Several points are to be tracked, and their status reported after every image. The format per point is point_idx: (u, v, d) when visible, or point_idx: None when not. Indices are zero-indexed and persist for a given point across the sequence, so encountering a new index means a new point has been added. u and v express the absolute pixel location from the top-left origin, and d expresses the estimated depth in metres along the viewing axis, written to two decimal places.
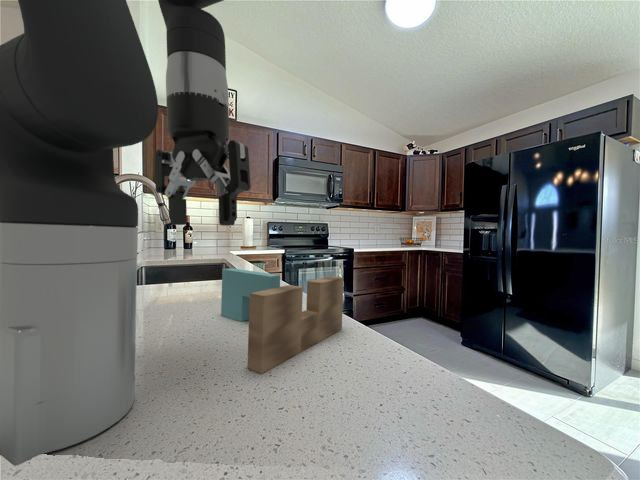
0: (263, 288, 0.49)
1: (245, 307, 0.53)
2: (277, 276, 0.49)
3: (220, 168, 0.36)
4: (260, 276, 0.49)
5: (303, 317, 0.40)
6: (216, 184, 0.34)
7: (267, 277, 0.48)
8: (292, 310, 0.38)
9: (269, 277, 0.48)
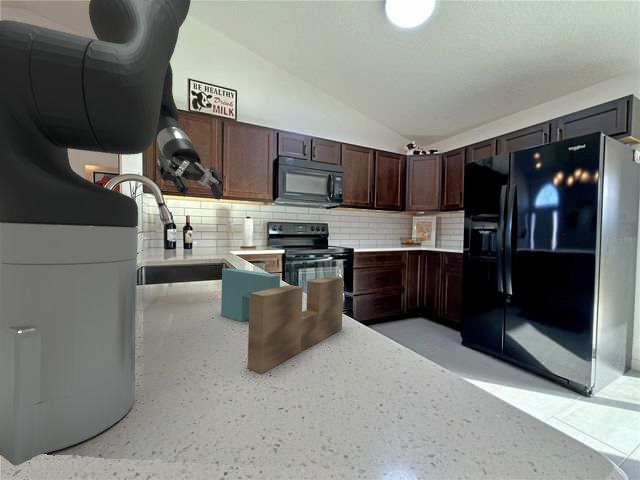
0: (263, 288, 0.49)
1: (245, 307, 0.53)
2: (277, 276, 0.49)
3: None
4: (260, 276, 0.49)
5: (303, 317, 0.40)
6: (211, 178, 0.66)
7: (267, 277, 0.48)
8: (292, 310, 0.38)
9: (269, 277, 0.48)
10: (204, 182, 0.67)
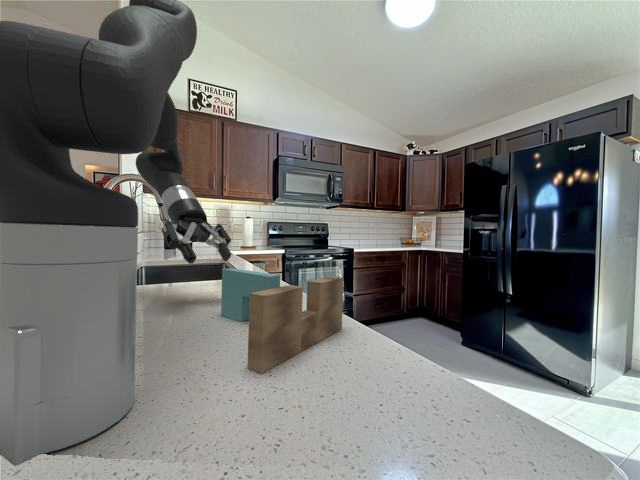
0: (263, 288, 0.49)
1: (245, 307, 0.53)
2: (277, 276, 0.49)
3: None
4: (260, 276, 0.49)
5: (303, 317, 0.40)
6: (218, 239, 0.64)
7: (267, 277, 0.48)
8: (292, 310, 0.38)
9: (269, 277, 0.48)
10: (212, 243, 0.64)
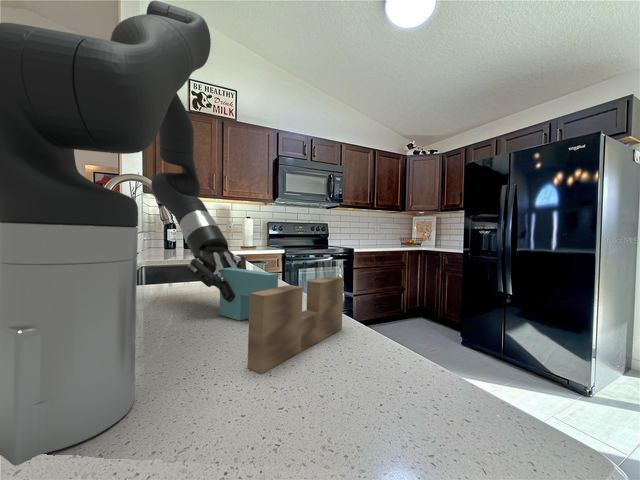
0: (261, 287, 0.49)
1: (243, 306, 0.53)
2: (275, 275, 0.50)
3: None
4: (258, 275, 0.49)
5: (303, 317, 0.40)
6: None
7: (265, 276, 0.48)
8: (292, 310, 0.38)
9: (267, 276, 0.48)
10: None
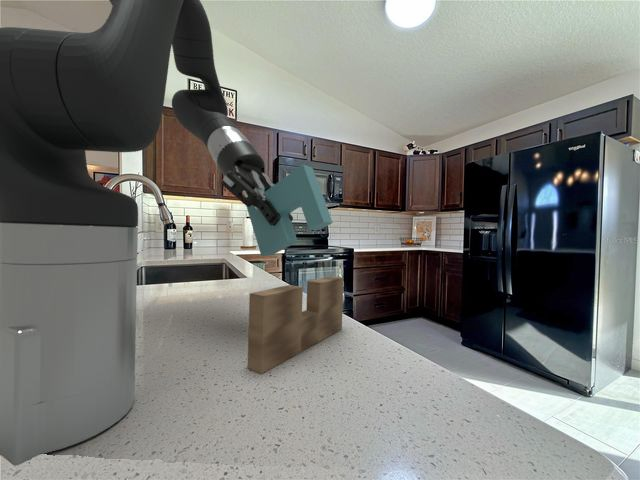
0: (299, 183, 0.41)
1: (286, 226, 0.43)
2: (310, 167, 0.42)
3: None
4: (291, 174, 0.42)
5: (303, 317, 0.40)
6: None
7: (299, 168, 0.41)
8: (292, 310, 0.38)
9: (301, 166, 0.41)
10: None
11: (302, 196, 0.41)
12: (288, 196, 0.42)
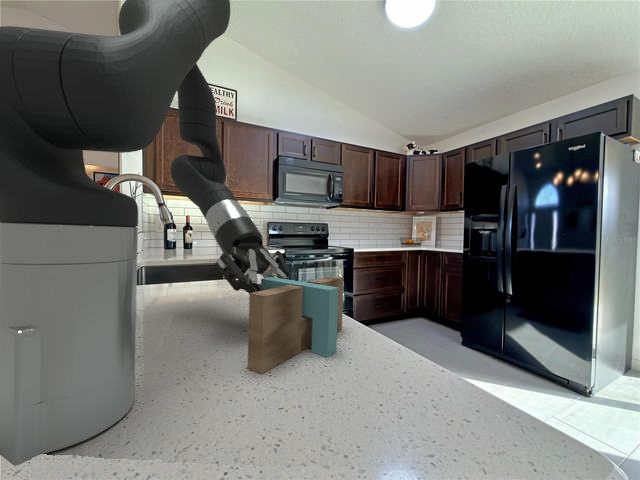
0: (319, 304, 0.39)
1: None
2: (335, 289, 0.39)
3: None
4: (314, 289, 0.39)
5: (303, 317, 0.40)
6: (277, 271, 0.49)
7: (325, 290, 0.38)
8: (292, 310, 0.38)
9: (327, 291, 0.38)
10: (268, 275, 0.49)
11: (317, 318, 0.39)
12: (304, 306, 0.40)
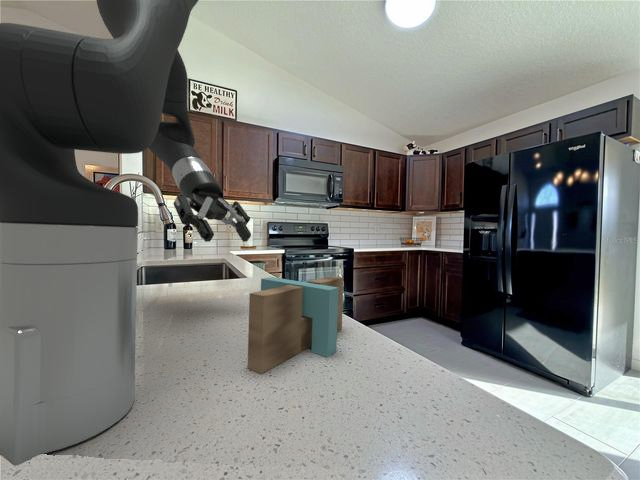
0: (319, 304, 0.39)
1: None
2: (335, 289, 0.39)
3: None
4: (314, 289, 0.39)
5: (303, 317, 0.40)
6: (236, 216, 0.56)
7: (325, 290, 0.38)
8: (292, 310, 0.38)
9: (327, 291, 0.38)
10: (229, 221, 0.57)
11: (317, 318, 0.39)
12: (304, 306, 0.40)
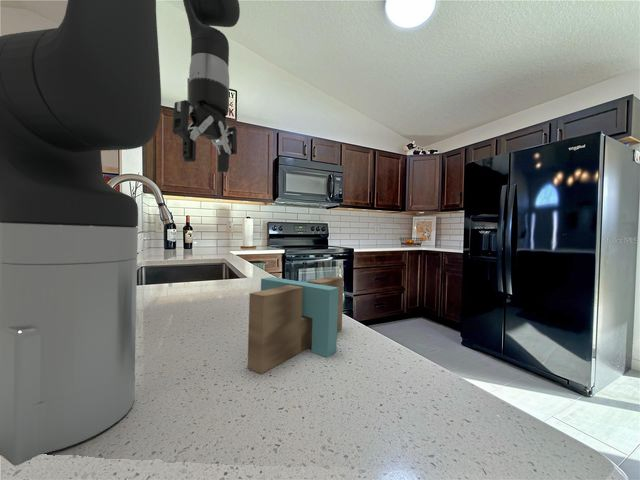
0: (319, 304, 0.39)
1: None
2: (335, 289, 0.39)
3: None
4: (314, 289, 0.39)
5: (303, 317, 0.40)
6: (225, 146, 0.58)
7: (325, 290, 0.38)
8: (292, 310, 0.38)
9: (327, 291, 0.38)
10: (217, 144, 0.58)
11: (317, 318, 0.39)
12: (304, 306, 0.40)
